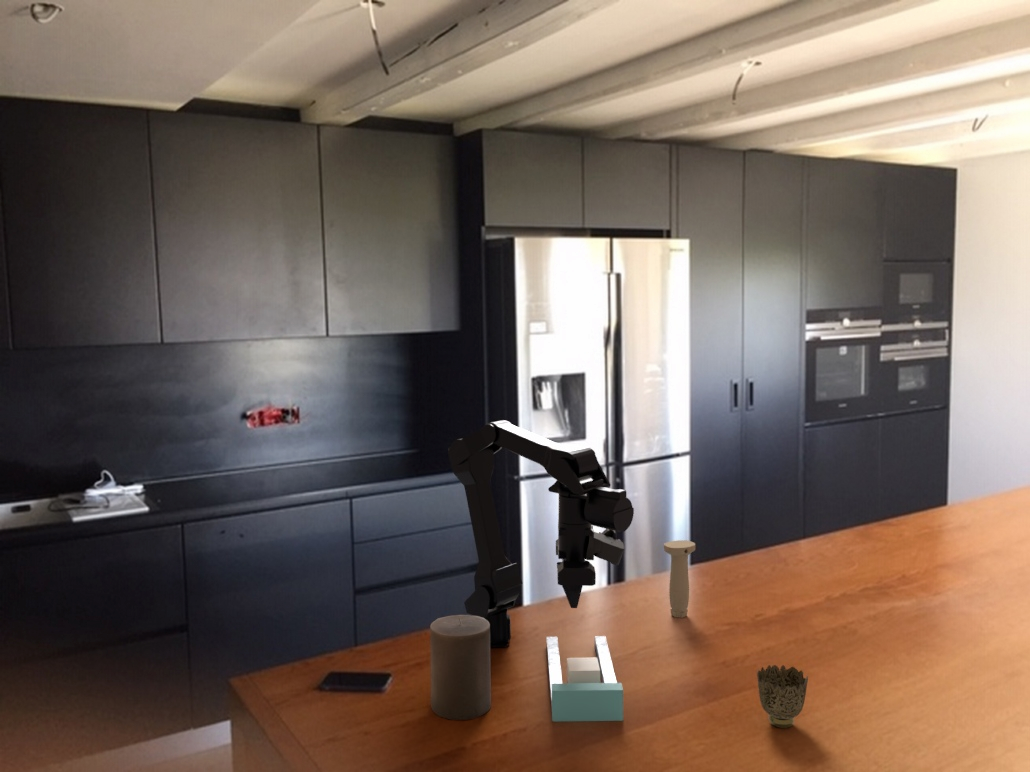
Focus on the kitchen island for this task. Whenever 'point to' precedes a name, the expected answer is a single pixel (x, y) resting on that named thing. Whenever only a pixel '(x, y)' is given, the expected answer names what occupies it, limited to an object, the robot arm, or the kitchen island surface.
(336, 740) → the kitchen island surface
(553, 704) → the track
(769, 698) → the cup
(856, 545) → the kitchen island surface
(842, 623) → the kitchen island surface
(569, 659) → the block
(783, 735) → the kitchen island surface
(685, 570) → the handle
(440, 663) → the pillar candle
